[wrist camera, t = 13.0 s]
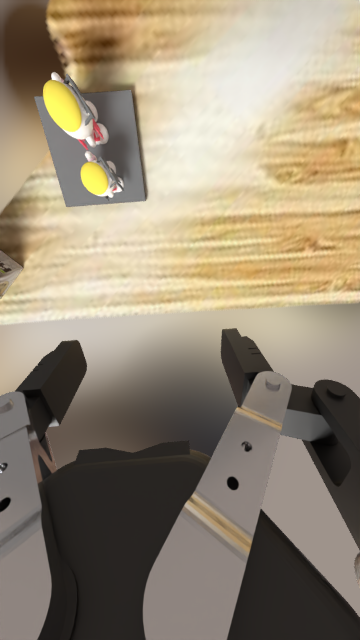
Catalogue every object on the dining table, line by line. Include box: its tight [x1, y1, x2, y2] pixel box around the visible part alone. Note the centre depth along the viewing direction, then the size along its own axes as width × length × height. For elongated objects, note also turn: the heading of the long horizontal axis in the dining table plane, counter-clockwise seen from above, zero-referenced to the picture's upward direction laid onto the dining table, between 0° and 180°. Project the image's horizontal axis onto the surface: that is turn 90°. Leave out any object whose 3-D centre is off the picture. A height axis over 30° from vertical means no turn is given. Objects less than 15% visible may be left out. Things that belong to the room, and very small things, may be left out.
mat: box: [35, 90, 146, 207], centre depth 29 cm, size 12×12×1 cm
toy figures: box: [43, 72, 124, 201], centre depth 25 cm, size 12×4×8 cm, turn 15°
